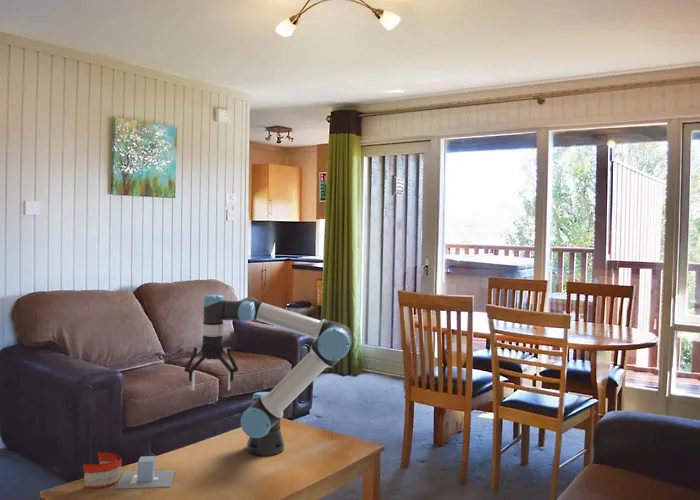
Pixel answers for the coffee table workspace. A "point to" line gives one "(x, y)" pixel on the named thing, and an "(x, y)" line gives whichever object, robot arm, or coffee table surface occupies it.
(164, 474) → the letter card
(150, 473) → the block
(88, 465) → the toy
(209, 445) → the coffee table surface
